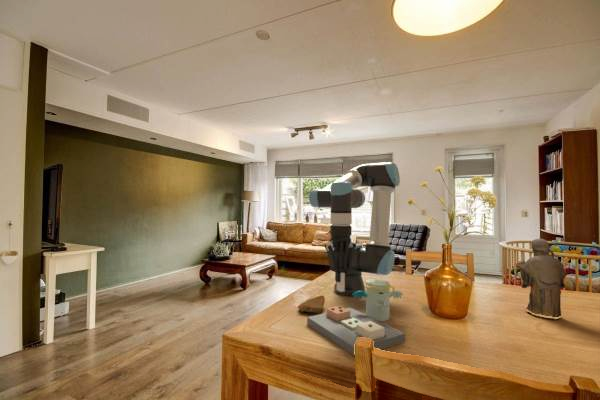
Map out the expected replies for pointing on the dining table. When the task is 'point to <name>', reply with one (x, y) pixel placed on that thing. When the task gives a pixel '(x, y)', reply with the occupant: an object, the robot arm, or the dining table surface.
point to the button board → (348, 337)
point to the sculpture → (543, 279)
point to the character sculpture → (378, 298)
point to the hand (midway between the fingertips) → (340, 290)
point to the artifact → (313, 305)
